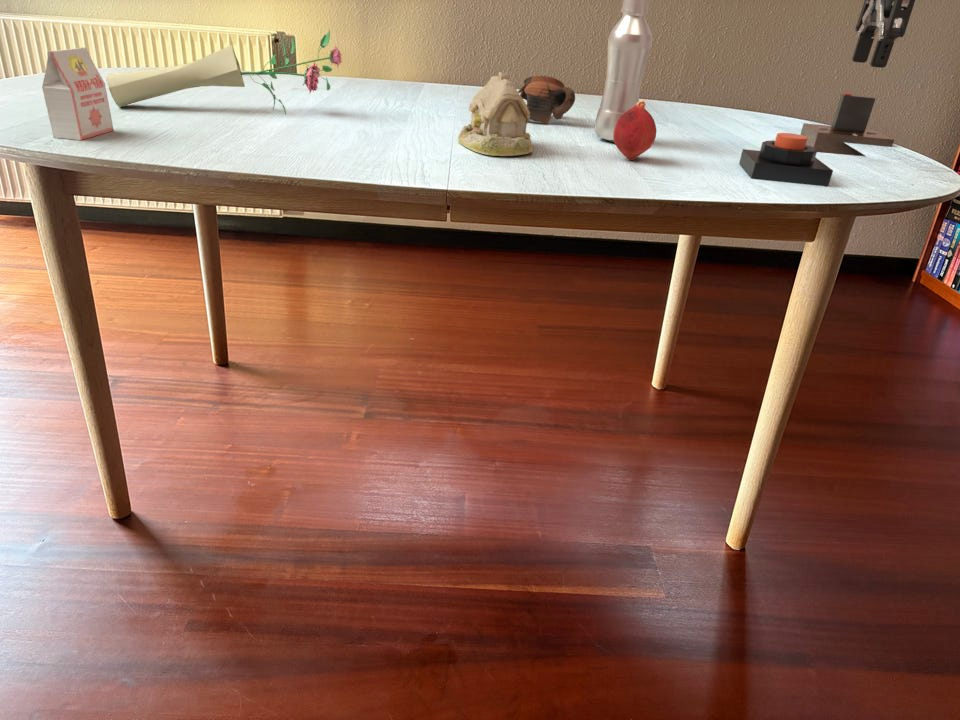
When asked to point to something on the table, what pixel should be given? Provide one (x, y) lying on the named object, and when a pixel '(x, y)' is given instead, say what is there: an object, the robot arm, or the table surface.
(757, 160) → the button housing
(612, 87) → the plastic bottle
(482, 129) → the ceramic model
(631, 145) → the onion
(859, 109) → the dark grey rectangular block
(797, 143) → the button
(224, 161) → the table surface
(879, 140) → the brown switch base
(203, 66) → the flower vase
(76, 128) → the white gable-top carton
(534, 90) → the pottery mug
